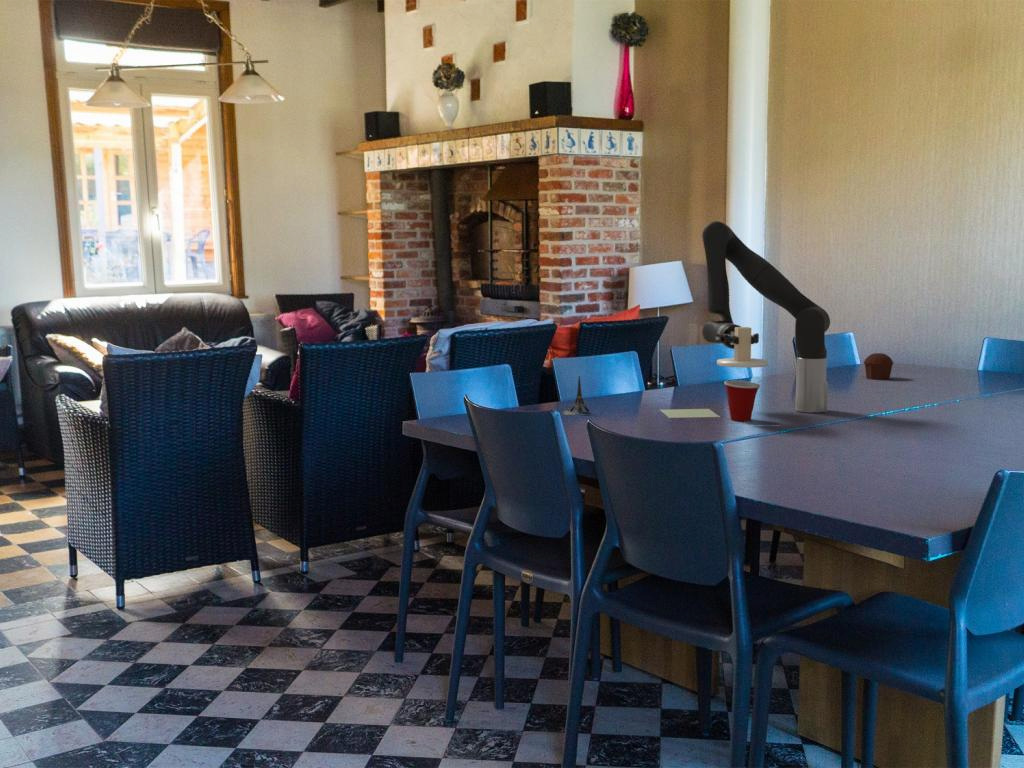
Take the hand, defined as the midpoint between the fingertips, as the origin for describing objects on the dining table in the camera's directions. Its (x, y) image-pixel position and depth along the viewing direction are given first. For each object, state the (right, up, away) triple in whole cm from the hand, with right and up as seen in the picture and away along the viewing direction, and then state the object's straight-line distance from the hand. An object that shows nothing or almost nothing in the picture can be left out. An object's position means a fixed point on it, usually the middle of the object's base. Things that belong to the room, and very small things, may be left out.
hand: (745, 340), depth 307 cm
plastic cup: (0, -25, +6) cm, 25 cm away
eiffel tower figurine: (-48, -23, +28) cm, 60 cm away
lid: (0, -7, +4) cm, 8 cm away
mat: (-13, -23, +19) cm, 33 cm away
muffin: (+76, -11, +104) cm, 130 cm away
